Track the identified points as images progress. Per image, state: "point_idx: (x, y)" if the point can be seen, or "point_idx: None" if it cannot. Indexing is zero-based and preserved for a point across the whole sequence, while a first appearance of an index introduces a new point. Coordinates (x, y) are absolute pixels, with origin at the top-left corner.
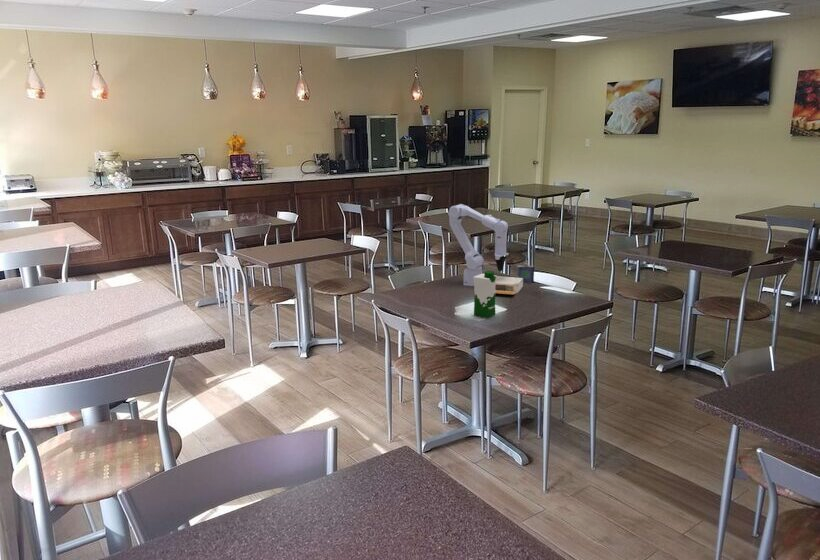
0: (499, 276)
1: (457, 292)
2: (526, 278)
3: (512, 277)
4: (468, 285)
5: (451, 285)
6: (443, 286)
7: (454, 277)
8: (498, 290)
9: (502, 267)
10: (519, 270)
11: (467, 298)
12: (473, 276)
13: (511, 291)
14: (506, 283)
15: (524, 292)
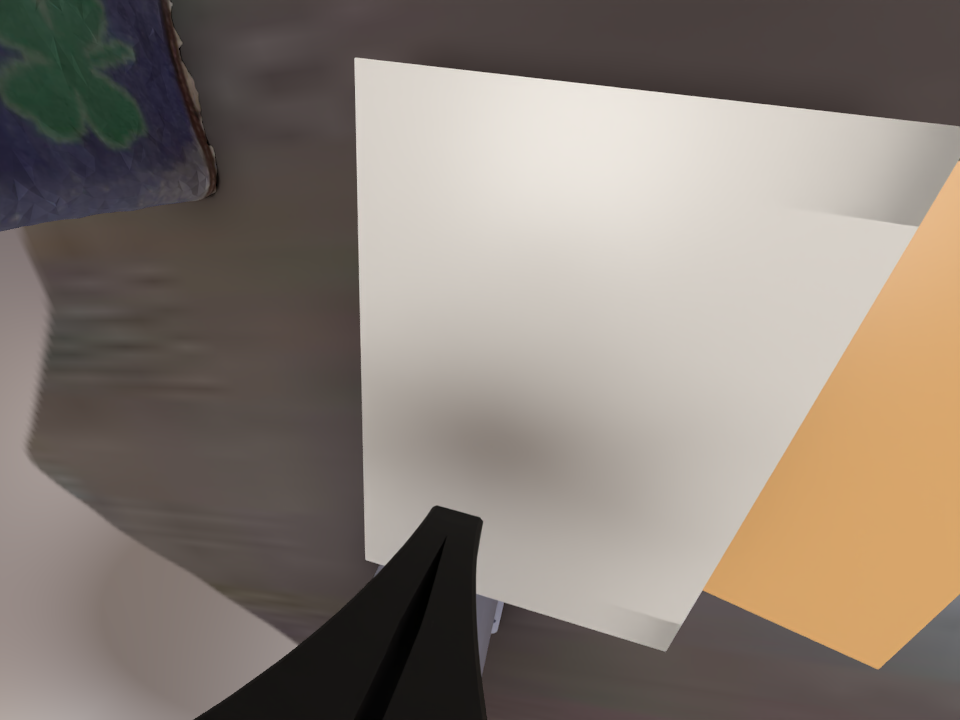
0: (367, 438)
1: (696, 680)
2: (124, 43)
3: (368, 268)
4: (500, 608)
5: (489, 674)
6: (524, 711)
7: (287, 631)
8: (822, 421)
9: (474, 577)
10: (45, 171)
11: (942, 658)
12: (482, 670)
13: (918, 238)
14: (811, 363)
15: (732, 8)
